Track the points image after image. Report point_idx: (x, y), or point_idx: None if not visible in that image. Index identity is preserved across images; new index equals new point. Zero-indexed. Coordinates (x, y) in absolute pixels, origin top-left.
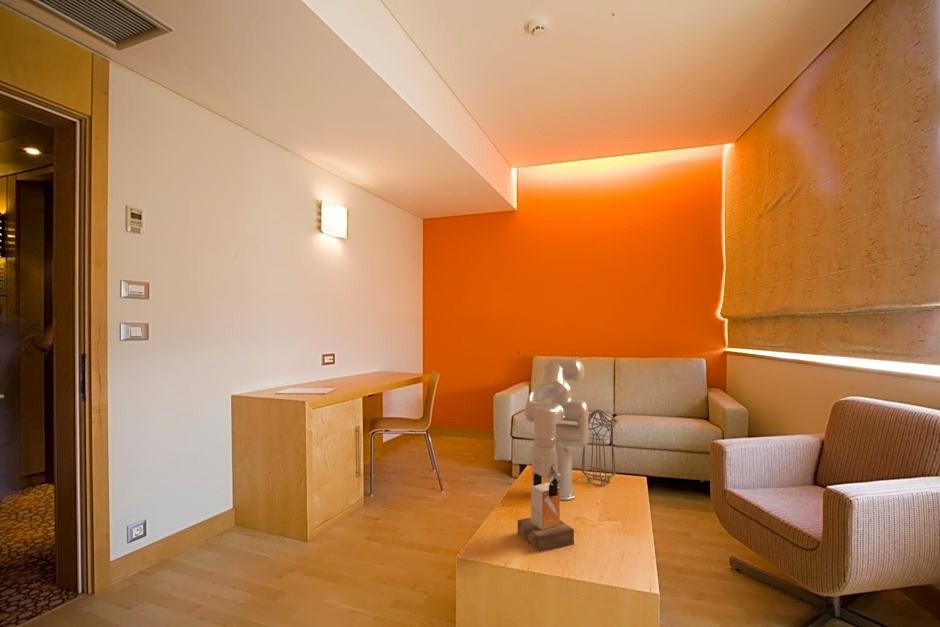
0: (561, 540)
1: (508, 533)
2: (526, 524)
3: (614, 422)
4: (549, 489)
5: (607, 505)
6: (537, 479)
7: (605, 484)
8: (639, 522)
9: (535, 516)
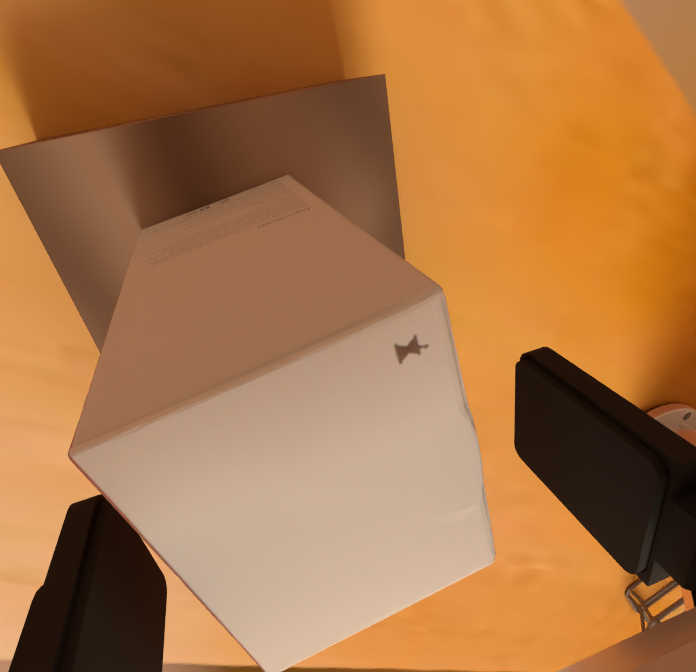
0: None
1: (375, 7)
2: (281, 125)
3: None
4: (40, 619)
5: (494, 585)
6: (595, 469)
7: (628, 600)
8: (334, 656)
9: (234, 212)
